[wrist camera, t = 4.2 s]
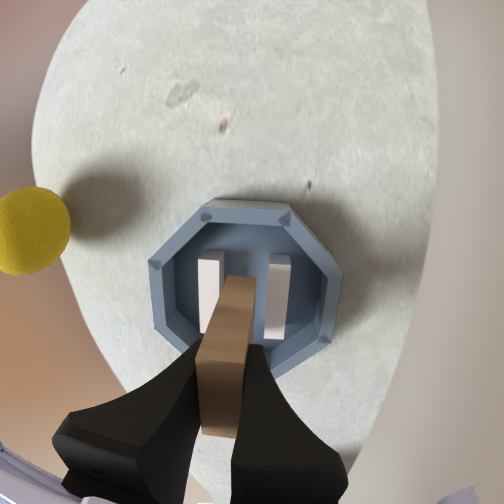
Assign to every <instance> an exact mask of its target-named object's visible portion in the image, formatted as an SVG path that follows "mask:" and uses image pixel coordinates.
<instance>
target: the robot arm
mask: <svg viewBox="0 0 504 504" xmlns="http://www.w3.org/2000/svg"><path fill="white" fill-rule="evenodd" d="M201 342H202V339H197V340H196V341H195V342H194V343H193V344H192V345H191V346H190V347H189V348H188V349H187V350H186V351H185V352H184V353H183V354H182V355H181V356H180V357H178V358H177V359H176V360H175V361H174V362H173V363H172V364H171V365H169V366H168V367H167V368H166V369H165V370H163V371H162V372H161V373H159V374H158V375H157V376H156V377H154V378H153V379H151V380H150V381H148V382H147V383H145V384H144V385H142V386H141V387H139V388H137V389H135V390H133V391H131V392H129V393H127V394H125V395H123V396H121V397H119V398H117V399H114V400H112V401H109V402H107V403H104V404H101V405H98V406H95V407H91V408H87V409H83V410H79V411H75V412H70V413H69V414H68V415H67V417H66V418H65V419H64V421H63V422H62V424H61V425H60V427H59V428H58V430H57V431H56V433H55V434H54V436H53V437H52V444H53V446H54V448H55V450H56V452H57V453H58V455H59V456H60V458H61V459H62V460H63V462H64V463H65V465H66V466H67V467H68V468H69V471H68V472H67V474H66V476H65V477H64V479H61V478H58V477H57V476H55V475H53V474H51V473H49V472H47V471H45V470H43V469H41V468H40V467H38V466H36V465H34V464H32V463H31V462H29V461H27V460H26V459H24V458H22V457H21V456H19V455H17V454H16V453H14V452H13V451H11V450H10V449H8V448H6V447H5V446H4V445H3V443H2V441H1V440H0V503H1V504H183V500H184V495H185V489H186V483H187V478H188V472H189V467H190V462H191V457H192V453H193V448H194V444H195V440H196V437H197V434H198V431H199V428H200V425H201V420H200V410H199V399H198V387H197V375H196V360H195V358H196V355H197V352H198V350H199V347H200V345H201ZM347 487H348V477H347V473H346V470H345V467H344V465H343V462H342V460H341V458H340V455H339V453H337V452H336V451H335V450H333V449H332V448H331V447H329V446H328V445H327V444H325V443H324V442H323V441H322V440H321V439H319V438H318V437H317V436H316V435H315V434H314V433H313V432H312V431H311V430H310V429H309V428H308V427H307V426H306V425H305V424H304V422H303V421H302V420H301V419H300V418H299V417H298V416H297V414H296V413H295V412H294V411H293V409H292V408H291V407H290V405H289V404H288V402H287V401H286V399H285V398H284V396H283V394H282V393H281V391H280V389H279V387H278V385H277V383H276V381H275V379H274V377H273V375H272V373H271V370H270V368H269V365H268V362H267V359H266V356H265V351H264V346H263V345H261V344H249V345H248V350H247V356H246V362H245V368H244V392H243V402H242V408H241V414H240V419H239V425H238V430H237V435H236V440H235V444H234V449H233V454H232V458H231V501H230V504H338V501H339V499H340V498H341V496H342V495H343V494H344V492H345V491H346V489H347ZM436 504H480V503H479V500H478V498H477V496H476V493H475V490H474V488H473V487H472V486H470V487H468V488H466V489H463V490H460V491H458V492H455V493H452V494H450V495H447V496H445V497H444V498H442V499H441V500H439V501H438V502H437V503H436Z"/></svg>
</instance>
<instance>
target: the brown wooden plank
mask: <svg viewBox="0 0 504 504" xmlns="http://www.w3.org/2000/svg"><path fill="white" fill-rule="evenodd" d="M256 281H257V277H245V276H232V275H227V278H226V280H225V283H224V285H223V288H222V290H221V293H220V296H219V298H218V301H217V303H216V306H215V308H214V311H213V313H212V316H211V319H210V321H209V324H208V326H207V329H206V332H205V334H204V337H203V339H202V342H201V345H200V347H199V350H198V352H197V355H196V358H195V360H196V375H197V387H198V399H199V410H200V420H201V430H202V434H204V435H211V436H218V437H226V438H236V435H237V430H238V425H239V419H240V414H241V408H242V402H243V392H244V368H245V362H246V356H247V350H248V345H249V344H253V330H254V314H255V298H256Z"/></svg>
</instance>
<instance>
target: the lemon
mask: <svg viewBox="0 0 504 504" xmlns="http://www.w3.org/2000/svg"><path fill="white" fill-rule="evenodd" d="M70 232H71V220H70V215H69V212H68V209H67V207H66V205H65V203H64V202H63V200H62V199H61V198H60V197H59V196H58V195H57V194H55V193H54V192H52V191H51V190H49V189H45V188H41V187H27V188H21V189H18V190H15V191H13V192H11V193H9V194H7V195H6V196H5V197H3V198H2V199H1V200H0V270H2V271H4V272H5V273H8V274H12V275H26V274H32V273H35V272H38V271H40V270H42V269H44V268H46V267H47V266H49V265H51V264H52V263H53V262H54V261H55V260H56V259H57V258H58V257H59V256H60V255H61V254H62V252H63V251H64V249H65V247H66V245H67V243H68V241H69V237H70Z"/></svg>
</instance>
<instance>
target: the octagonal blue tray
mask: <svg viewBox="0 0 504 504" xmlns="http://www.w3.org/2000/svg"><path fill="white" fill-rule="evenodd" d="M147 262H148V266H149V279H150V290H151V300H152V309H153V318H154V326H155V327H154V328H155V330H157V331H158V332H159V333H160V334H161V335H162V336H163V337H164V338H165V339H166V340H168V341H169V342H170V343H171V344H172V345H173V346H174V347H175V348H176V349H177V350H179V351H180V352H181V353H182V354H183V353H184V352H185V351H186V350H187V349H188V348H189V347H190V346H191V345H192V344H193V343H194V342H195V341H196V340H197V339H203V337H204V334H205V332H206V329H207V326H208V324H209V321H210V319H211V316H212V313H213V311H214V308H215V306H216V303H217V301H218V298H219V296H220V293H221V290H222V288H223V285H224V283H225V280H226V278H227V275H232V276H245V277H257V281H256V298H255V314H254V330H253V344H261V345H263V346H264V351H265V356H266V359H267V362H268V365H269V368H270V370H271V373H272V375H273V377H274V379H276V378H278V377H280V376H281V375H283V374H284V373H286V372H288V371H289V370H291V369H292V368H294V367H295V366H297V365H298V364H300V363H302V362H303V361H305V360H306V359H308V358H309V357H311V356H312V355H314V354H315V353H316V352H318V351H319V350H321V349H322V348H324V347H325V346H327V345H328V344H329V343H331V342H332V341H331V339H332V334H333V329H334V324H335V319H336V314H337V308H338V303H339V297H340V291H341V285H342V278H343V275H344V274H343V271H342V269H341V267H340V266H339V264H338V262H337V261H336V259H335V257H334V256H333V255H332V254H331V253H330V252H329V251H328V249H327V248H326V247H325V246H324V245H323V243H322V242H321V241H320V240H319V239H318V238H317V236H316V235H315V234H314V233H313V232H312V231H311V229H310V228H309V227H308V226H307V225H306V224H305V222H304V221H303V220H302V219H301V218H300V217H299V216H298V214H297V213H296V212H295V211H294V210H293V209H292V208H291V206H290V205H289V203H287V202H286V203H283V202H267V201H248V200H226V199H211V200H210V201H208V202H207V203H205V204H204V205H202V206H201V208H200V209H199V210H198V211H197V212H196V213H195V214H194V215H193V216H192V217H191V218H190V219H189V220H188V221H187V222H186V223H185V224H184V225H183V226H182V227H181V228H180V229H179V230H178V231H177V232H176V233H175V234H174V235H173V236H172V237H171V238H170V239H169V240H168V241H167V242H166V243H165V244H164V245H163V246H162V247H161V248H160V249H159V250H158V251H157V252H156V253H155V254H154V255H153V256H152V257H151V258H150V259H148V261H147Z"/></svg>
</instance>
